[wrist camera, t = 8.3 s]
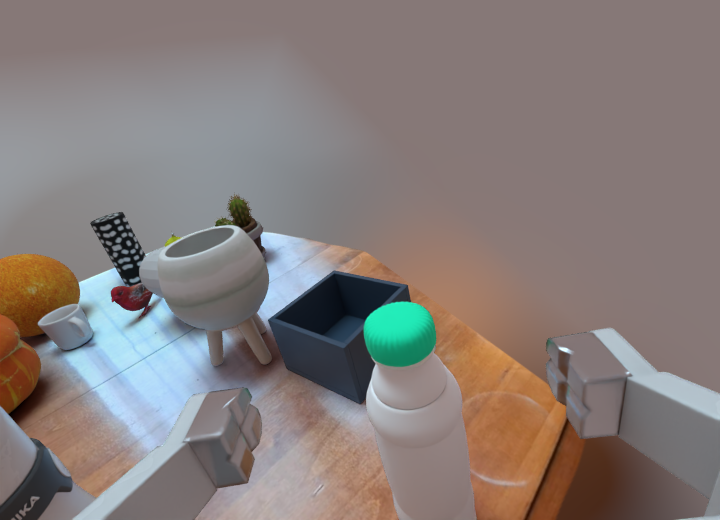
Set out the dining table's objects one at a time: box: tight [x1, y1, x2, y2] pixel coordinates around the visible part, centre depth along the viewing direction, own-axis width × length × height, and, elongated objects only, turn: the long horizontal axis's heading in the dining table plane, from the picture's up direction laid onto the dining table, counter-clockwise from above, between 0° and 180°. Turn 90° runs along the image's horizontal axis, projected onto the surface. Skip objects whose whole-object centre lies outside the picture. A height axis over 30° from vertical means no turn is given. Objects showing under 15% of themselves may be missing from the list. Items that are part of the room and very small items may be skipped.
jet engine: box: [139, 246, 191, 326], centre depth 76 cm, size 15×20×18 cm
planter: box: [158, 225, 272, 366], centre depth 61 cm, size 16×16×22 cm
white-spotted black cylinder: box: [90, 212, 146, 286], centre depth 106 cm, size 8×8×20 cm
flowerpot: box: [215, 196, 266, 258], centre depth 99 cm, size 14×15×20 cm
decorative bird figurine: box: [111, 283, 153, 318], centre depth 89 cm, size 3×18×10 cm, turn 177°
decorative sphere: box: [0, 254, 80, 337], centre depth 89 cm, size 20×20×20 cm
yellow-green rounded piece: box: [165, 233, 181, 247], centre depth 118 cm, size 7×7×10 cm
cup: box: [38, 304, 93, 350], centre depth 81 cm, size 11×8×8 cm
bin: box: [268, 271, 411, 404], centre depth 58 cm, size 16×16×10 cm
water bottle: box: [364, 301, 477, 520], centre depth 29 cm, size 7×7×25 cm
